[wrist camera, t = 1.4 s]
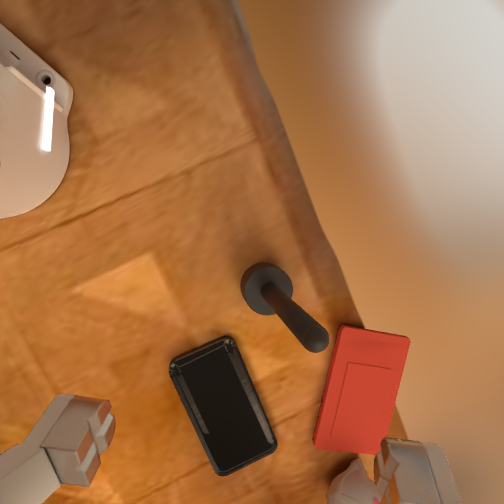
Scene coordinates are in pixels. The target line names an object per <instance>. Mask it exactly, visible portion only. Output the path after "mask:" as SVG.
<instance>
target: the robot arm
mask: <svg viewBox="0 0 504 504" xmlns="http://www.w3.org/2000/svg"><path fill="white" fill-rule="evenodd" d="M46 78H51V83H50V84H48V85H45V84H44V81H45V79H46ZM72 101H73V89H72V86H71V85H70V83H69V82H68V81H67V80H65V79H64V78H63V77H62V76H61V75H60V74H59V73H57V72H56V71H55V70H54V69H53V68H52V67H50V66H49V65H48V64H47V63H46V62H45V61H44V60H42V59H41V58H40V57H39V56H38V55H37V54H35V53H34V52H33V51H32V50H31V49H30V48H29V47H27V46H26V45H25V44H24V43H23V42H22V41H20V40H19V39H18V38H17V37H16V36H15V35H14V34H12V33H11V32H10V31H9V30H8V29H7V28H5V27H4V26H3V25H2V24H1V23H0V218H8V217H13V216H17V215H20V214H23V213H26V212H28V211H30V210H32V209H34V208H36V207H37V206H39V205H40V204H42V203H43V202H44V201H46V200H47V199H48V198H49V197H50V196H51V195H52V194H53V193H54V192H55V190H56V189H57V188H58V186H59V184H60V183H61V181H62V179H63V177H64V175H65V172H66V169H67V166H68V161H69V154H70V142H69V134H68V126H67V118H68V115H69V112H70V108H71V105H72ZM110 409H111V404H110V401H109V400H105V399H98V398H91V397H83V396H78V395H71V394H63V393H60V394H58V395H57V396H56V397H55V398H54V399H53V400H52V402H51V403H50V405H49V406H48V407H47V409H46V410H45V412H44V413H43V414H42V416H41V417H40V419H39V420H38V422H37V423H36V424H35V426H34V427H33V429H32V430H31V431H30V433H29V434H28V436H27V437H26V439H25V440H24V441H23V443H22V444H21V445H20V444H16V445H14V446H13V447H11V448H10V449H8V450H7V451H5V452H4V453H2V454H1V455H0V504H42V503H43V502H44V501H45V500H46V499H47V498H48V497H49V496H50V495H51V494H52V493H54V492H55V491H56V490H57V489H58V488H59V487H60V486H61V484H69V485H77V486H84V487H89V486H90V484H91V482H92V480H93V478H94V476H95V474H96V472H97V470H98V468H99V466H100V464H101V462H100V456H99V455H100V454H101V453H103V452H104V451H105V450H106V449H108V447H109V445H110V443H111V441H112V438H113V435H114V431H115V418H114V415H112V414H111V413H110V412H109V411H110ZM380 446H381V451H379V452H377V453H376V457H375V460H374V480H375V486H376V489H377V491H378V492H379V493H380V495H381V496H382V500H381V502H380V504H462V501H461V498H460V495H459V492H458V490H457V487H456V484H455V481H454V478H453V475H452V472H451V469H450V466H449V464H448V461H447V458H446V455H445V452H444V450H443V448H442V447H441V446H440V445H438V444H433V443H424V442H419V441H411V440H403V439H395V438H386V437H384V438H383V439H382V441H381V443H380ZM60 483H61V484H60Z"/></svg>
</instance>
